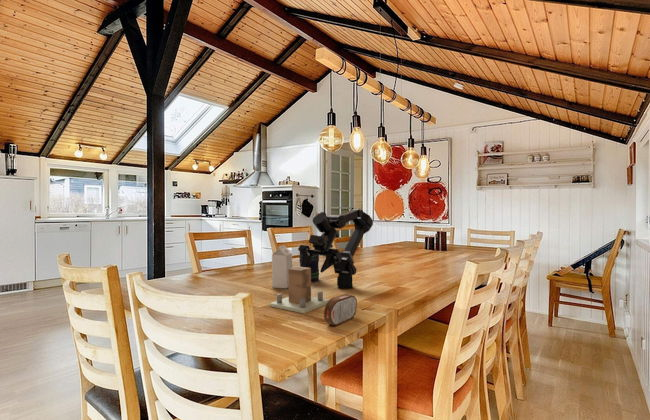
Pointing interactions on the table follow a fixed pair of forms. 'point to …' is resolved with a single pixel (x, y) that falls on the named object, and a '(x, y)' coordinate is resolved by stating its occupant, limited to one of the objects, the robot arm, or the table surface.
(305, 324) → the table surface
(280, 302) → the peg stand
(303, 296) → the walnut block
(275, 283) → the milk carton
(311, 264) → the dark ribbed canister
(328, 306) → the tin
